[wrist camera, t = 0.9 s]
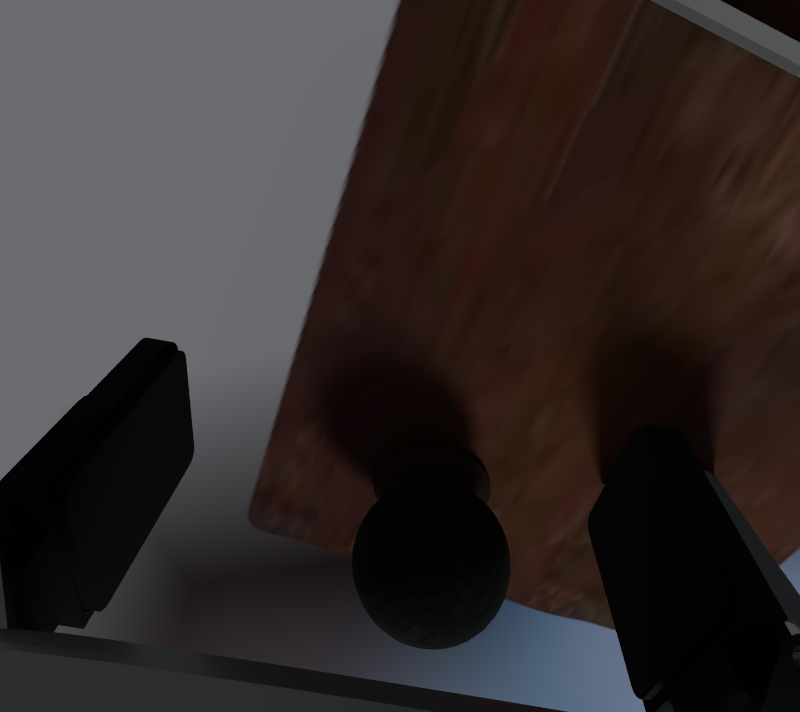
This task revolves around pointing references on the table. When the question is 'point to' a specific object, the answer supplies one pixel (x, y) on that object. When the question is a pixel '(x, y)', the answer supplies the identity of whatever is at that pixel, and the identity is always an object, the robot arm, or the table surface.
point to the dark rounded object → (431, 548)
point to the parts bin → (740, 30)
